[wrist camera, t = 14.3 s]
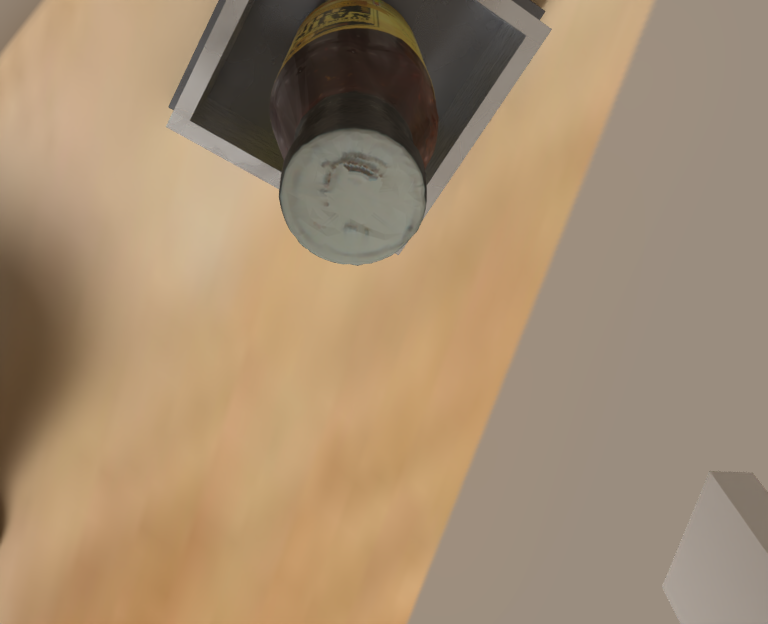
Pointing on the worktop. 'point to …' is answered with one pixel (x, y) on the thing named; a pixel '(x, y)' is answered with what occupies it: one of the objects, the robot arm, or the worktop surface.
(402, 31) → the sauce bottle
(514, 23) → the open gray square box
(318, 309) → the worktop surface
